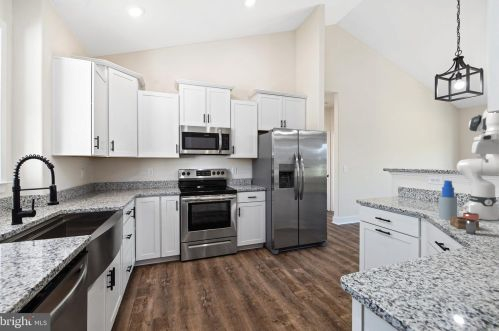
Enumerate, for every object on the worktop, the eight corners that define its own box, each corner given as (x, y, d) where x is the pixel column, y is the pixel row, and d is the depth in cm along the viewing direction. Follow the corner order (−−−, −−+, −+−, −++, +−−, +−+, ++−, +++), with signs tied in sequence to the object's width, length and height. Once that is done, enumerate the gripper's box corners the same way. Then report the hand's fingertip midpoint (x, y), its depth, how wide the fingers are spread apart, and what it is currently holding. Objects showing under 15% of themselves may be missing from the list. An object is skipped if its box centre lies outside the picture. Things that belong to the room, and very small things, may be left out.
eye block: (450, 224, 135) (450, 216, 134) (469, 225, 131) (469, 217, 131) (458, 229, 126) (458, 220, 126) (478, 230, 123) (478, 221, 123)
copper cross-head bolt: (466, 234, 117) (466, 214, 116) (460, 231, 122) (460, 211, 122) (481, 236, 114) (481, 214, 114) (474, 232, 120) (474, 212, 120)
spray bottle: (437, 216, 153) (437, 179, 153) (453, 217, 150) (454, 180, 149) (441, 219, 145) (441, 181, 144) (459, 221, 141) (460, 181, 141)
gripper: (518, 136, 120) (518, 162, 120) (470, 138, 127) (469, 162, 127) (528, 135, 114) (528, 162, 114) (476, 137, 121) (476, 162, 121)
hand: (497, 162), depth 121 cm, fingers open, 8 cm apart
